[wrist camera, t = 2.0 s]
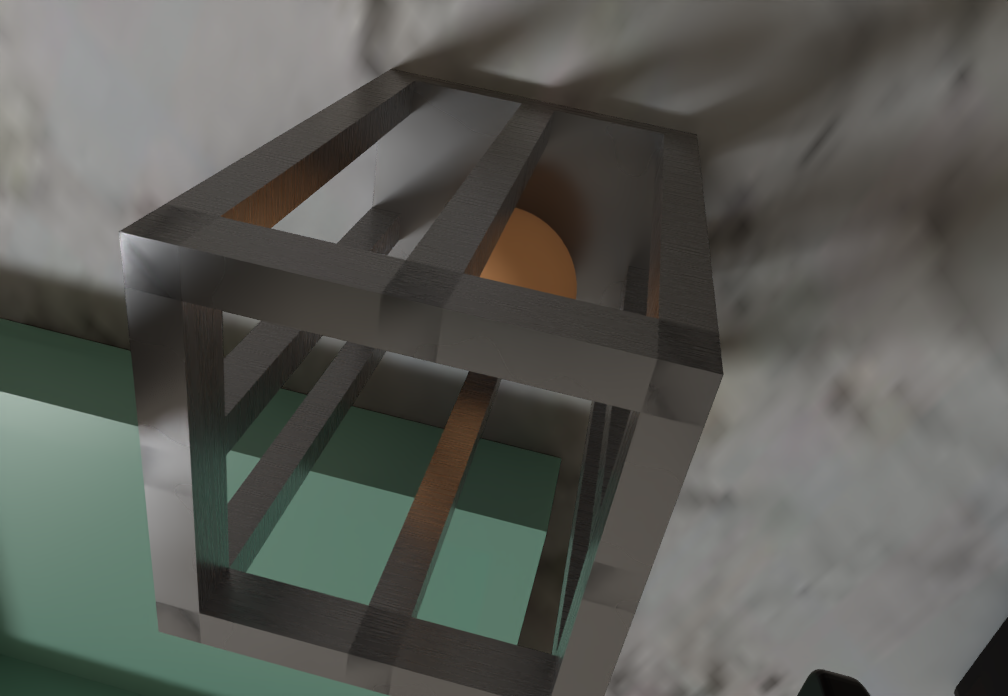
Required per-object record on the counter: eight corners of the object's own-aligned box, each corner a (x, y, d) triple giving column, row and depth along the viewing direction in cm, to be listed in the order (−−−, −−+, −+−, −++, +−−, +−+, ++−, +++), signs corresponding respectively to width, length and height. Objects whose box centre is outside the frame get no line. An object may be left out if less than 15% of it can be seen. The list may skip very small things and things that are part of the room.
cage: (696, 134, 14) (722, 374, 7) (620, 392, 17) (583, 749, 10) (391, 68, 15) (118, 231, 7) (368, 332, 18) (158, 631, 10)
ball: (601, 200, 15) (581, 272, 12) (569, 333, 16) (546, 420, 14) (447, 164, 15) (395, 228, 12) (431, 299, 17) (383, 379, 14)
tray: (561, 458, 18) (547, 532, 16) (475, 789, 26) (457, 869, 23) (-137, 284, 20) (-236, 330, 18) (-32, 644, 27) (-92, 708, 25)
